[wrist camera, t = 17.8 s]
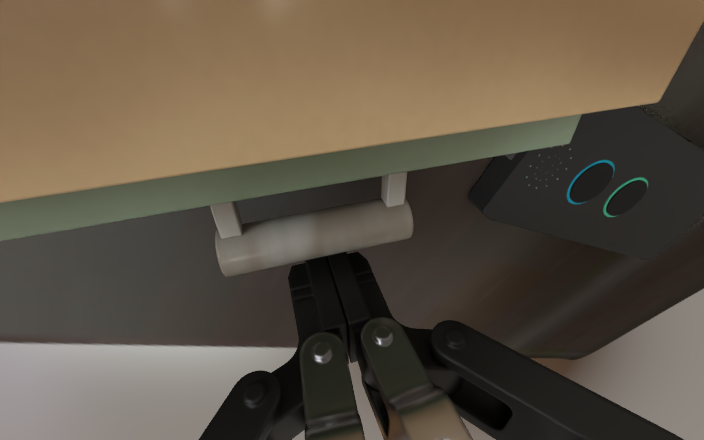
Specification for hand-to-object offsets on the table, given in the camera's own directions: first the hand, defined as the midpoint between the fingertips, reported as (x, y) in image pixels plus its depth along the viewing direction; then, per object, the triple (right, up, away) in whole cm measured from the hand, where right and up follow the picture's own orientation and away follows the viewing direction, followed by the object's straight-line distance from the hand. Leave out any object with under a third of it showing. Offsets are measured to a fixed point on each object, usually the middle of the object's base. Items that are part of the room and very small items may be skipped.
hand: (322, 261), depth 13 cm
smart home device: (+18, +4, +10) cm, 21 cm away
